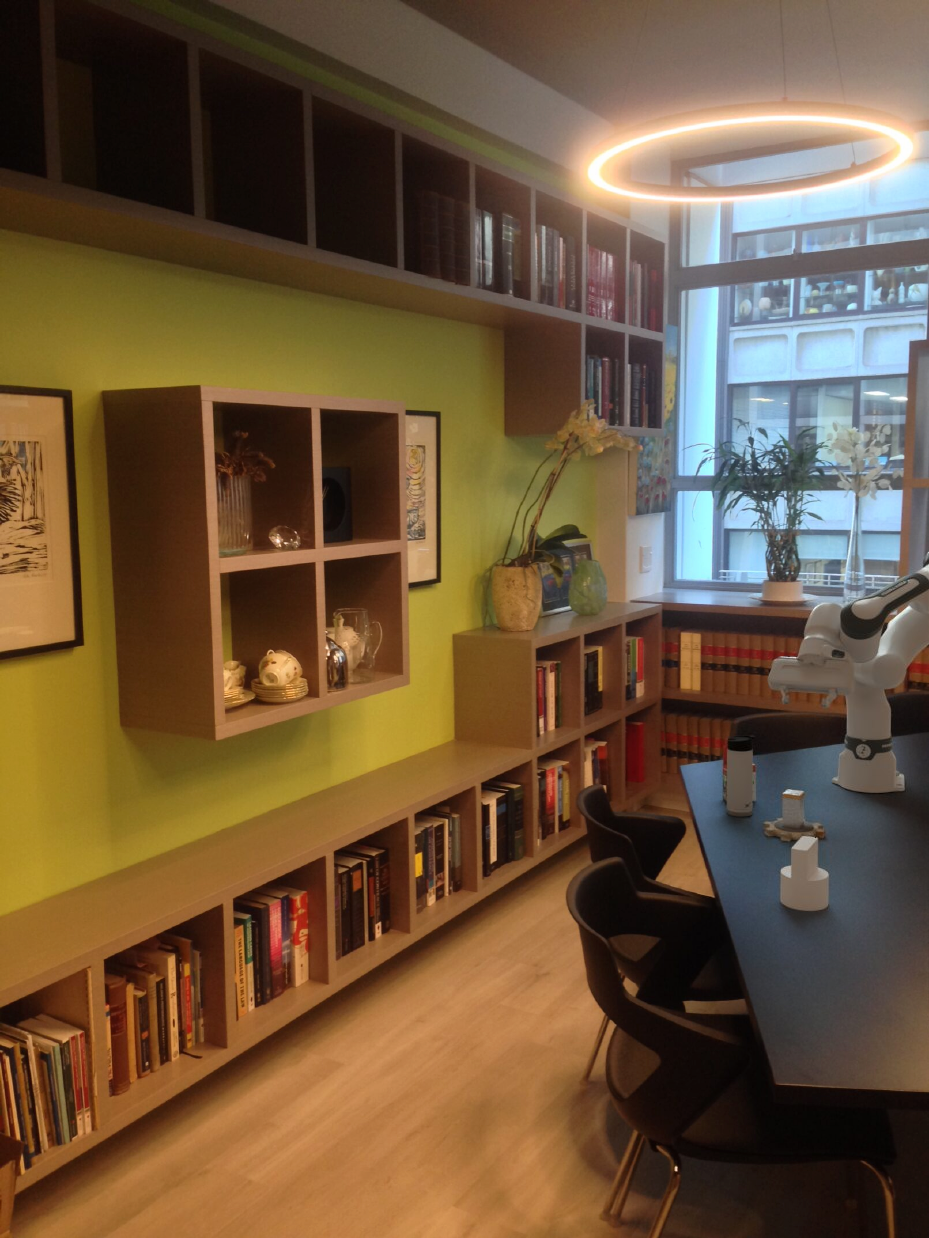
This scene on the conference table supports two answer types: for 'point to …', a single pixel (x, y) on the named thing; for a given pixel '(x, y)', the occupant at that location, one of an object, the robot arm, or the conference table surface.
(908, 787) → the conference table surface
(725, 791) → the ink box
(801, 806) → the link block
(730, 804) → the travel mug
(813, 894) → the base with upright slab
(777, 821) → the toothed wheel
